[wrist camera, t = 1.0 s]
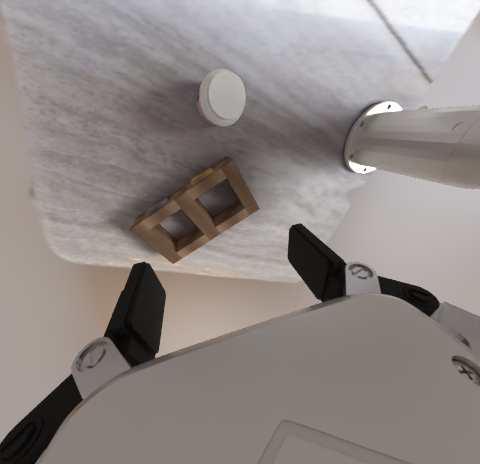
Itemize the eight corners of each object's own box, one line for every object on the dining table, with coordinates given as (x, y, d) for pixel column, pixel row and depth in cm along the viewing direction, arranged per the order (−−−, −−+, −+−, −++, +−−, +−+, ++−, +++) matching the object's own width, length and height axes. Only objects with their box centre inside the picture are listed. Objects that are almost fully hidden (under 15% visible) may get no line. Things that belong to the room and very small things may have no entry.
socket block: (226, 154, 29) (231, 157, 26) (252, 201, 35) (259, 208, 32) (134, 216, 31) (128, 227, 27) (174, 251, 36) (173, 264, 33)
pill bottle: (189, 110, 25) (190, 102, 17) (207, 71, 23) (217, 42, 15) (221, 134, 27) (234, 137, 19) (239, 100, 26) (262, 89, 18)
